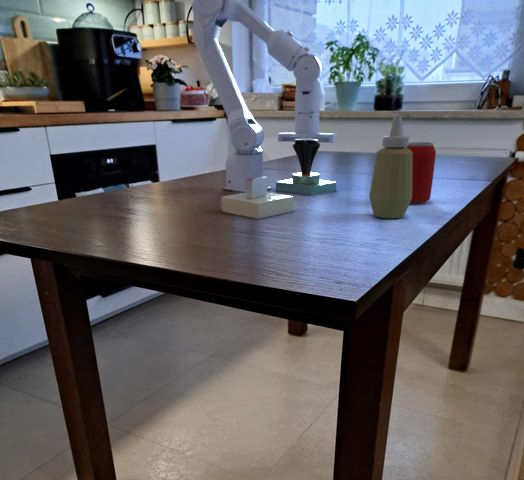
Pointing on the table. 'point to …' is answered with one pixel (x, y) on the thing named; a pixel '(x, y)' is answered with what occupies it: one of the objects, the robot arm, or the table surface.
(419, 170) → the beverage can
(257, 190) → the block
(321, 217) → the table surface
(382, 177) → the squeeze bottle
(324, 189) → the button box
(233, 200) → the base
